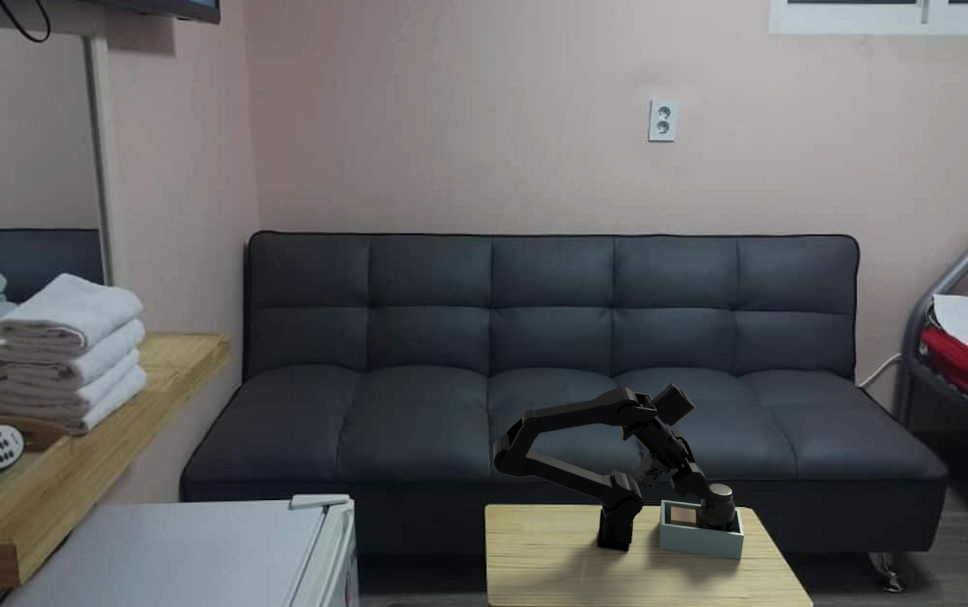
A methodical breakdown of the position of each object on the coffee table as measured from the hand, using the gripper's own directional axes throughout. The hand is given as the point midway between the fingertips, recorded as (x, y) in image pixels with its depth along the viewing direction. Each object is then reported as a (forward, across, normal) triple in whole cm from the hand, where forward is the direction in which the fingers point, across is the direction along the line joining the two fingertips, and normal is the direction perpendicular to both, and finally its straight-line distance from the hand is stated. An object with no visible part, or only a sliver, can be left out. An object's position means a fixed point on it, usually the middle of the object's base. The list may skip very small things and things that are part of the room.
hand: (704, 487), depth 167 cm
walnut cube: (+6, -2, -11) cm, 13 cm away
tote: (+9, -1, -9) cm, 13 cm away
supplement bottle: (+11, 0, -6) cm, 13 cm away
